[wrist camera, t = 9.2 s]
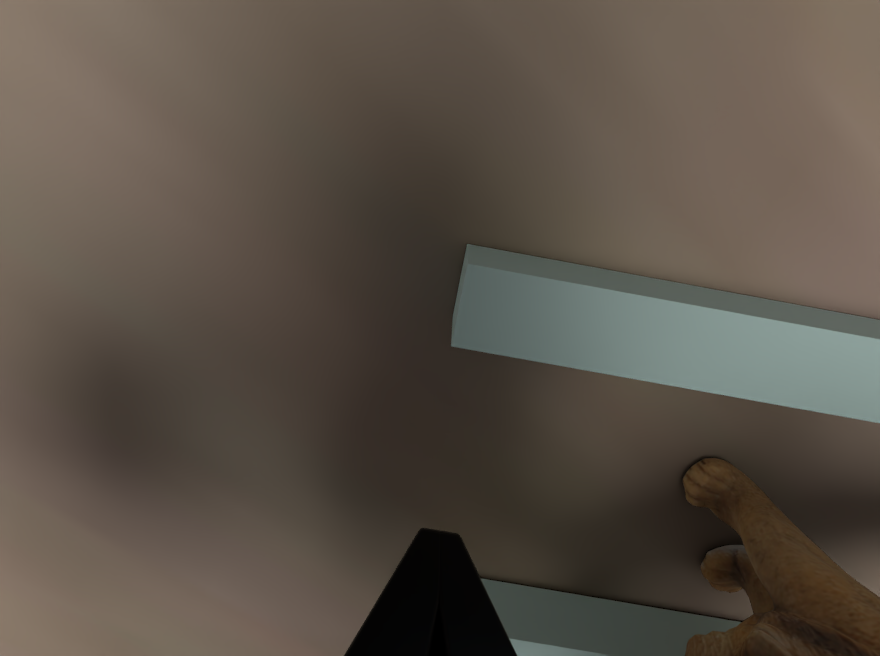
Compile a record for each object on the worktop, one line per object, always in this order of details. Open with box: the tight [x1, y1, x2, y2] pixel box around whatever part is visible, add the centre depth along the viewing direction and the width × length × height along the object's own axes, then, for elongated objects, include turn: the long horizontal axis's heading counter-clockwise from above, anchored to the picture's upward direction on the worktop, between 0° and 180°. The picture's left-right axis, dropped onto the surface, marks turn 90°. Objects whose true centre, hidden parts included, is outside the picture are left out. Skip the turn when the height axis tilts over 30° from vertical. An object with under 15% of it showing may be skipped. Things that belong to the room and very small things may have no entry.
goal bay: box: [451, 244, 880, 656], centre depth 10 cm, size 10×19×2 cm, turn 80°
